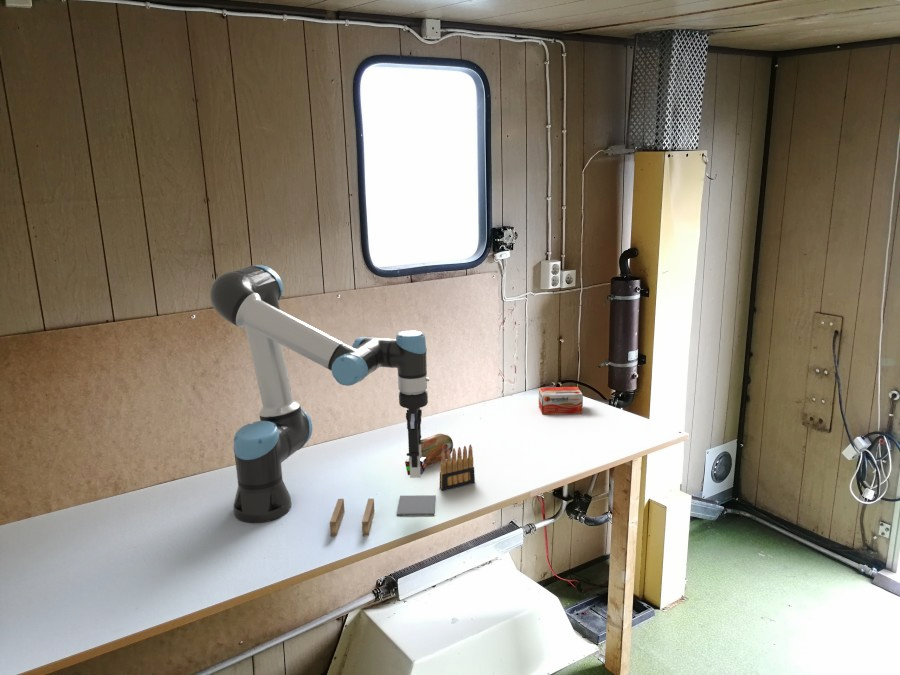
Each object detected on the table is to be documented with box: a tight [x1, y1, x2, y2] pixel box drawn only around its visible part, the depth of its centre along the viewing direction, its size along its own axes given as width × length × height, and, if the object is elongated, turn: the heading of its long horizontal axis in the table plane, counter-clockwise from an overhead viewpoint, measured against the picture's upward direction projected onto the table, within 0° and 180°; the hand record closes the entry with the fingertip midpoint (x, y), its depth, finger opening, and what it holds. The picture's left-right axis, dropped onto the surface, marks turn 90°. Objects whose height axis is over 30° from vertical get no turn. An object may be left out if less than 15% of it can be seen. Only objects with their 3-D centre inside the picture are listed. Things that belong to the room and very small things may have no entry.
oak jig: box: [329, 498, 375, 537], centre depth 178 cm, size 10×12×4 cm
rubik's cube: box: [404, 456, 426, 476], centre depth 184 cm, size 4×5×5 cm
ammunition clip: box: [439, 444, 476, 492], centre depth 197 cm, size 11×2×12 cm, turn 117°
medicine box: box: [538, 386, 584, 415], centre depth 255 cm, size 15×8×8 cm, turn 92°
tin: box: [419, 433, 454, 468], centre depth 213 cm, size 15×3×8 cm, turn 129°
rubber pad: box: [396, 494, 437, 517], centre depth 187 cm, size 10×10×1 cm
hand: (416, 471), depth 185 cm, fingers closed on rubik's cube, 5 cm apart
